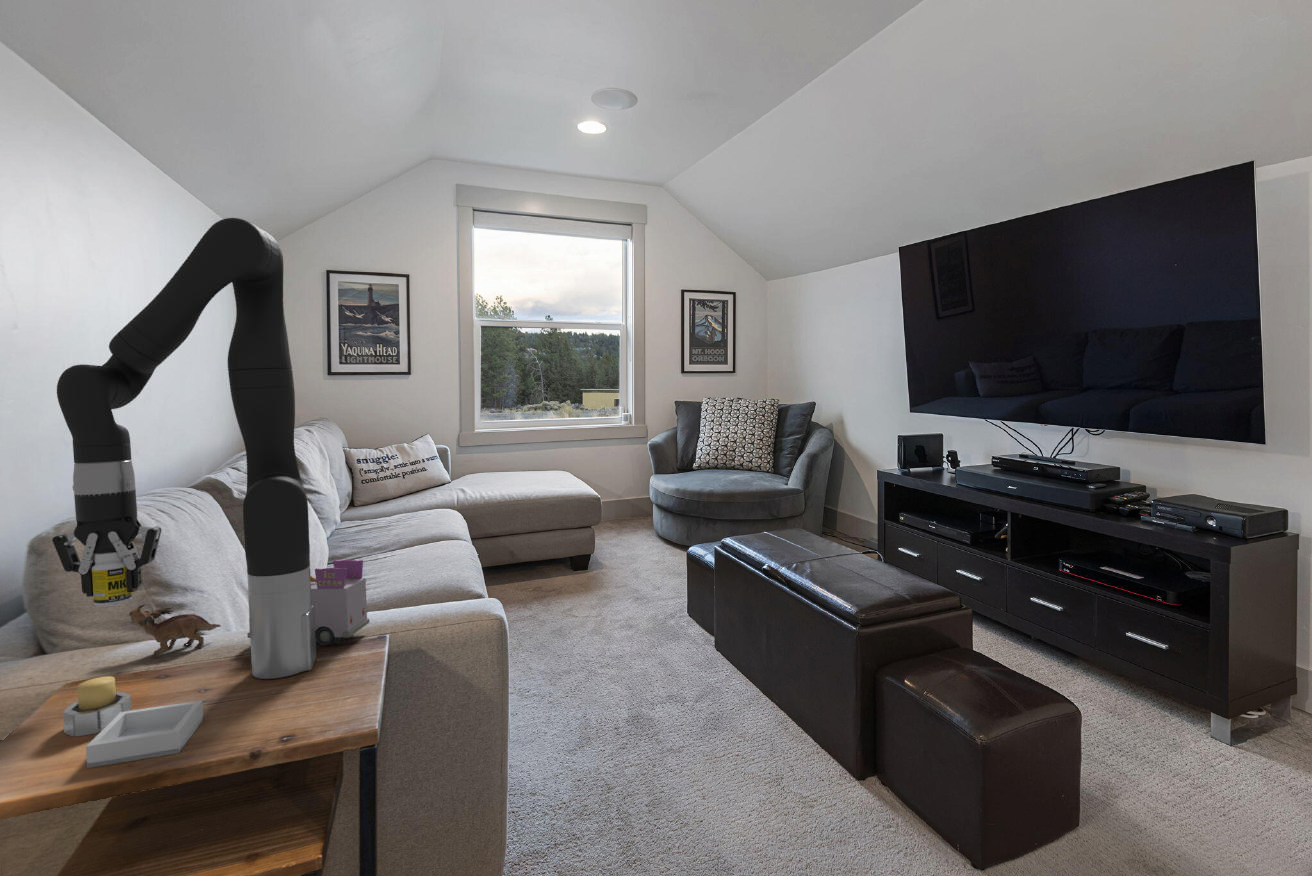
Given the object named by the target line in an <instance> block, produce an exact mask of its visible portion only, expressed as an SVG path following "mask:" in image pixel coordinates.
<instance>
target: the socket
mask: <svg viewBox="0 0 1312 876" xmlns="http://www.w3.org/2000/svg"><path fill="white" fill-rule="evenodd" d="M132 710H133V709H132V697H131V694H130V693H126V692H124V691H116V700H115V701H114V702H112V703H110V704H108V705H106V706H103V707H99V708H95V709H88V710H82V709H79V703H78V700H76V701H75V702H73V703H71V704H70V705H69V706H68V707H66V708H65V709H64V710H63V711H62V716H63V731H64V734H66V735H68V736H71V737H73V738H74V737H76V738H77V737H82V736H89V735H94V734H95V735H96V734H99V733H100V732H101V731H102V730H103V729H104V728H105V727H106V726H107V725H108V724H109V723H110V722H111V721H112V720H113V719H114V718H115V717H116V716H117V715H118V714H119V713H120V712H125V711H132Z"/></svg>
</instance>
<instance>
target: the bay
mask: <svg viewBox="0 0 1312 876" xmlns="http://www.w3.org/2000/svg"><path fill="white" fill-rule="evenodd" d="M203 703H204V701H203V700H194V701H187V702H180V703H174V704H166V705H160V706H152V707H148V708H147V707H146V708H140V709H134V710H133V709H132V711H125V712H120V713H119V714H118V715H117V716H116V717H115V718H114V719H113V720H112V721H111V722H110V723H109V724H108V725H107V726H106V727H105V728H104V729H103V730H102V731H101V732H99V733H97V735H95V737H94V738H93V739H92V740H91V741H90V742H89V743H88V744H87V745H86V746H85V751H86V752H85V753H86V755H85V756H86V767H87V769H93V768H98V767H103V766H110V765H114V764H120V763H121V764H122V763H127V762H131V761H132V762H133V761H140V760H144V759H151V758H158V757H161V756H167V755H175V754H180V753H181V751H182V750H183V749H184V747H185V746H186V744H187V743H188V741H189V740H190V739H191V737H192V736H193V735H194V733H195V732H196V730H197V729H198V727H199V726H200V725H201V724H202V722H203V720H204V704H203Z"/></svg>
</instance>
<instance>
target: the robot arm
mask: <svg viewBox="0 0 1312 876" xmlns="http://www.w3.org/2000/svg"><path fill="white" fill-rule="evenodd" d="M194 246H195V247H194V248H193V249H192V251H191V252H190V253H189V255H188V256H187V257H186V258H185V260H184V261H183V263H182V264H181V265H180V267H179V268H178V269H177V270H176V272H175V273H174V275H173V276H172V277H171V278H170V279H169V281H168V282H167V283H166V284H165V285H164V287H163V288H162V289H161V290H160V291H159V293H158V294H157V295H156V296H154V298H153V299H152V300H151V301H150V302H149V303H148V304H147V305H146V306H145V307H144V308H143V309H141V311H140V312H139V313H137V315H135V316H134V317H133V318H132V319H131V320H130V321H129V322H128V323H127V324H126V325H124V327H122V328H121V329H120V330H119V331H118V332H117V333H116V334H115V335H114V336H113V337H112V338H111V340H110V341H109V345H108V349H109V351H110V353H111V356H110V357H109V358H108V359H107V361H106V362H105V363H104V364H102V365H96V364H95V365H94V364H85V363H84V364H76V365H72V366H70V367H68V368H66V369H65V370H63V372H62V373H61V375H60V376H59V378H58V380H57V383H56V396H57V397H56V398H57V402H58V405H59V407H60V410H61V413H62V415H63V418H64V421H65V423H66V426H67V428H68V430H69V433H70V434H71V437H72V453H73V473H72V490H73V494H74V495H73V497H74V509H75V511H74V512H75V520H76V527H75V528H74V530H73V531H72V532H68V533H61V534H58V535H56V536H54V537H52V539H51V540H52V543H53V546H54V548H55V551H56V553H57V556H58V558H59V560H60V563H61V565H62V567H63V569H64V571H65V572H67V573H68V572H69V573H70V572H73V573H74V572H75V573H78V574H79V575H80V583H81V591H82V593H83V594H84V595H85V594H86V595H85V596H86V598H90V597H93V581H92V567H93V566H94V565H96V563H95V561H94V554H95V553H103V552H106V551H109V552H117V553H118V555H119V557H120V558H122V559H123V561H124V563H125V565H126V567H127V568H128V570H127V571H126V578H127V591H128V593H130V592H132V593H135V592H136V591H138V590H139V588H140V587H142V584H143V580H142V579H143V577H142V575H143V574H142V567H143V566H145V565H149V564H150V563H152V562H153V561H154V560H155V559H156V554H157V551H158V546H159V543H160V539H161V534H162V528H161V527H160V526H154V527H151V526H150V527H149V526H142V524H141V523H140V521H139V519H138V507H137V506H138V505H137V504H138V503H137V491H136V477H135V471H134V466H133V460H132V449H131V436H130V432H129V430H128V429H127V428H126V427H125V426H123V425H120V424H117V422H116V421H115V416H114V414H113V411H112V410H117V409H120V408H123V407H125V406H127V405H129V404H130V403H131V402H133V401H134V400H135V399H136V398H137V397H139V395H140V394H141V392H143V390H144V389H145V386H146V385H148V384H147V383H148V382H149V381H150V380H151V377H152V376H153V374H154V372H155V370H156V369H157V368H158V367H159V366H160V365H161V364H162V363H163V362H165V361H166V360H167V358H168V357H170V356H171V355H172V354H173V353H174V352H175V351H176V350H178V348H179V347H181V345H182V344H183V343H184V342H185V341H186V340H187V338H188V337H189V336H190V334H191V333H192V332H193V330H194V328H195V326H196V324H197V323H198V321H199V319H200V316H201V314H202V313H203V312H204V310H205V308H206V307H207V306H208V304H209V303H210V302H211V301H212V299H213V298H214V297H215V296H216V295H218V293H219V292H221V290H223V289H224V288H226V287H227V286H228V285H230V284H231V283H232V286H233V287H232V288H233V295H234V300H235V306H236V307H235V309H236V312H235V313H236V317H235V322H234V327H233V328H234V329H233V331H232V335H231V339H230V343H229V348H228V353H227V371H228V381H229V382H228V383H229V389H230V395H231V401H232V407H233V410H234V413H235V417H236V422H237V425H238V427H239V431H240V433H241V437H242V440H243V443H244V449H245V457H246V493H245V496H244V499H243V501H242V502H243V504H242V520H243V521H242V522H243V536H244V539H243V540H244V552H245V553H244V554H245V561H246V571H247V574H246V575H247V591H248V592H247V595H248V614H249V618H248V620H249V619H250V628H249V632H250V638H249V639H250V654H251V655H250V656H251V673H252V676H253V677H254V678H257V679H261V680H262V679H263V680H270V679H280V678H285V677H286V678H287V677H289V676H293V675H296V674H299V673H302V672H307V671H312V669H313V667H314V665H315V662H316V660H317V643H316V642H317V641H316V635H315V612H314V606H313V605H312V602H311V579H310V576H311V560H310V558H311V557H310V555H311V554H310V553H311V552H310V551H311V548H310V547H311V546H310V545H311V544H310V524H309V523H310V522H309V502H308V497H307V493H306V491H305V487H304V485H303V481H302V478H301V473H300V470H299V469H300V468H299V465H298V460H297V456H296V449H295V448H296V447H295V424H296V395H295V384H294V374H293V366H292V360H291V355H290V347H289V346H290V345H289V336H288V331H287V324H286V318H285V311H284V310H285V309H284V308H285V307H284V256H283V255H284V254H283V251H282V249H281V247H280V244H279V243H278V241H277V240H276V239H275V238H274V236H273V235H272V234H270V233H268V232H267V231H265V230H264V229H262V228H260V227H258V226H257V225H256V224H254V223H252V222H250V221H249V220H245V219H242V218H240V217H239V218H238V217H227V218H223V219H221V220H218V221H217V222H215V223H214V224H212V225H211V226H210V228H208V229H207V231H205V233H204V234H203V235H202V237H201V238H200V239H199V241H198V242H197V244H196V245H194ZM139 534H140V535H141V539H142V540H143V541H144V543H143V546H142V551H141V555H140V556H139V553H138V548H137V546H136V545H135V542H134V541H135V539H136V538H137V537H138V535H139ZM76 539H77V540H78V541H79V542H80V543H81V544H82V545H83V546H84V550H83V552H82V556H81V560H80V557H79V555H78V552H77V550H76V548H75V545H76V544H77V541H76ZM315 659H316V660H315Z"/></svg>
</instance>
